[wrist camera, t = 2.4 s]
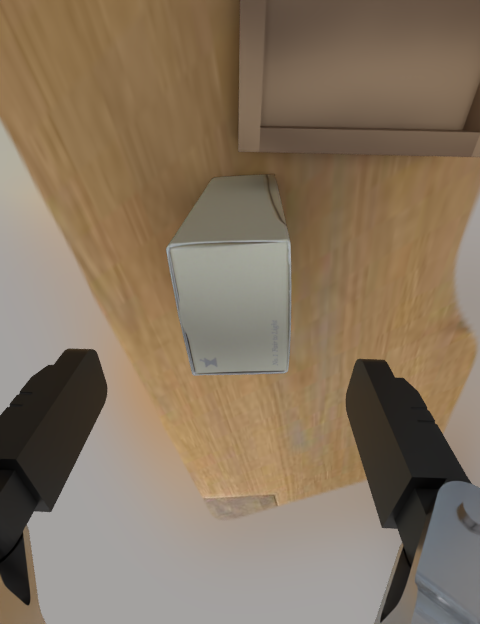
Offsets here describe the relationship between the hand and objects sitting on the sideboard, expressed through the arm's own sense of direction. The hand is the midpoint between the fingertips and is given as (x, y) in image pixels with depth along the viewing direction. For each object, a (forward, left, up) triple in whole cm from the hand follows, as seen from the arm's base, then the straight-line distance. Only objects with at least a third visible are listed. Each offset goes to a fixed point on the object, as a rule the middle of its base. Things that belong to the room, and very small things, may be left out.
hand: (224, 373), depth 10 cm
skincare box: (0, 0, -15) cm, 15 cm away
